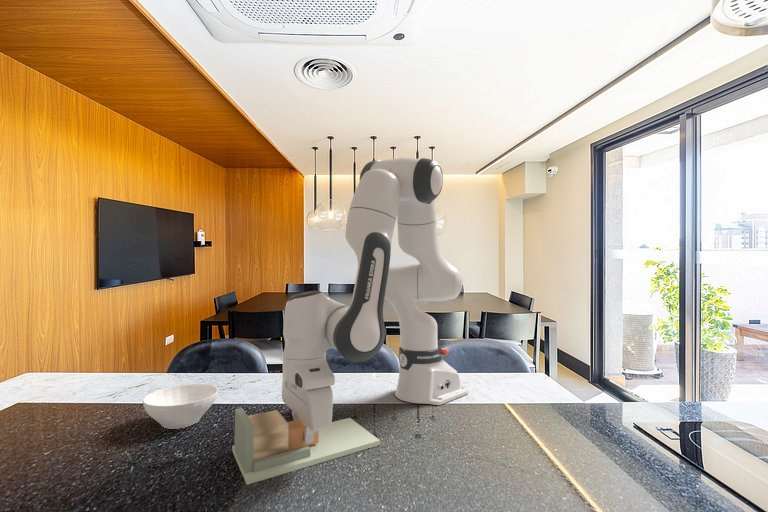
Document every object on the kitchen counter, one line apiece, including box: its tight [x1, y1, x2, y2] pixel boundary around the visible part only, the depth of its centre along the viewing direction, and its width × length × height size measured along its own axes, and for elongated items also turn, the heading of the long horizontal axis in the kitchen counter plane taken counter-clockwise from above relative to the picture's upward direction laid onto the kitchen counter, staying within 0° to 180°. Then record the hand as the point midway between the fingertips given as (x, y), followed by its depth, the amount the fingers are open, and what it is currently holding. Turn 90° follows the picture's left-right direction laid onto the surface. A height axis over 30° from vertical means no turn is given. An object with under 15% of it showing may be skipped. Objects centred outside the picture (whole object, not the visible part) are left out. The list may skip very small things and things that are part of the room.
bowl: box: [142, 383, 219, 430], centre depth 88 cm, size 16×16×7 cm
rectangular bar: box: [287, 419, 319, 451], centre depth 73 cm, size 12×4×4 cm, turn 122°
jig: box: [231, 407, 381, 486], centre depth 75 cm, size 27×14×9 cm, turn 122°
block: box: [247, 409, 289, 461], centre depth 71 cm, size 6×8×6 cm
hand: (303, 436), depth 75 cm, fingers closed on rectangular bar, 4 cm apart
